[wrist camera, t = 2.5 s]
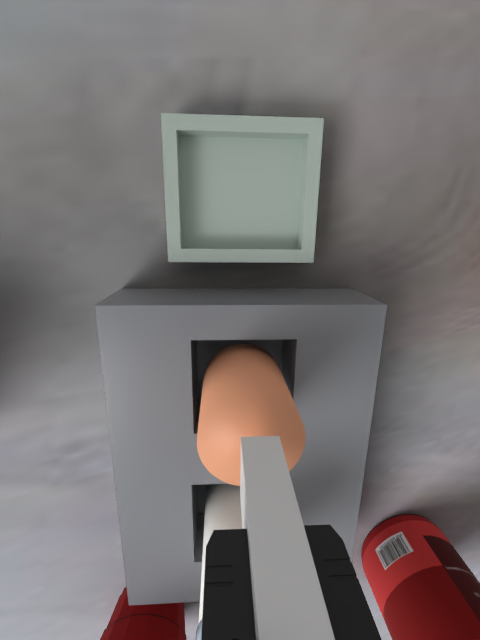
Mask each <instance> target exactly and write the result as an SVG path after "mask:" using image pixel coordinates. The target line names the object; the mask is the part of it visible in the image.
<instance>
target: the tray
mask: <svg viewBox="0 0 480 640" xmlns="http://www.w3.org/2000/svg"><path fill="white" fill-rule="evenodd" d="M323 124H324V118H305V117H273V116H241V115H210V114H178V113H161V128H162V148H163V169H164V189H165V210H166V230H167V250H168V262H252V263H314V250H315V236H316V222H317V208H318V194H319V180H320V166H321V152H322V138H323Z"/></svg>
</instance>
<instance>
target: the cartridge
mask: <svg viewBox="0 0 480 640" xmlns="http://www.w3.org/2000/svg"><path fill="white" fill-rule="evenodd" d="M226 529H242V515H241V500H240V486H235V485H231V484H206V500H205V518H204V536H203V555H202V573H201V591H200V610H199V625H198V627H197V631H196V640H201V635H202V615H203V596H204V576H205V556H206V546H207V543H208V541H209V539H210V537H211V535H212V533H213V531H214V530H226Z"/></svg>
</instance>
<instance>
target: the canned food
mask: <svg viewBox="0 0 480 640" xmlns="http://www.w3.org/2000/svg"><path fill="white" fill-rule="evenodd" d="M361 556H362V564H363V569H364V572H365V574H366V577H367V579H368V582H369V584H370V586H371V589H372V591H373V594H374V596H375V599H376V601H377V603H378V606H379V608H380V611H381V613H382V615H383V618H384V620H385V623H386V625H387V627H388V630H389V632H390V635H391V637H392V639H393V640H480V583H479V581H478V580H477V579H476V577H475V576H474V575H473V573H472V572H471V570H470V569H469V568H468V566H467V565H466V564H465V562H464V561H463V560H462V558H461V557H460V556H459V554H458V553H457V551H456V550H455V549H454V547H453V546H452V545H451V543H450V542H449V541H448V539H447V538H446V537H445V535H444V534H443V532H442V531H441V530H440V529H439V528H438V527H437V526H435V525H434V524H433V523H432V522H430V521H429V520H428V519H426V518H424V517H422V516H417V515H400V516H396V517H392V518H390V519H388V520H385V521H384V522H382V523H380V524H379V525H377V526H376V527H375V528H374V529H373V530H372V531H371V532H370V533H369V535H368V536H367V537H366V539H365V541H364V543H363V547H362V553H361Z"/></svg>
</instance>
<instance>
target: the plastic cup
mask: <svg viewBox="0 0 480 640" xmlns="http://www.w3.org/2000/svg"><path fill="white" fill-rule="evenodd" d="M100 640H186V635H185V617H184V602H181V603H164V604H146V605H129V603H128V594H127V587H126V588H125V589H124V591H123V593H122V595H121V596H120V597H119V600H118V602H117V604H116V607H115V609H114V612H113V614H112V616H111V619H110V621H109V624H108V626H107V628H106V629H105V630H104V632H103V635H102V637H101V639H100Z"/></svg>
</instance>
